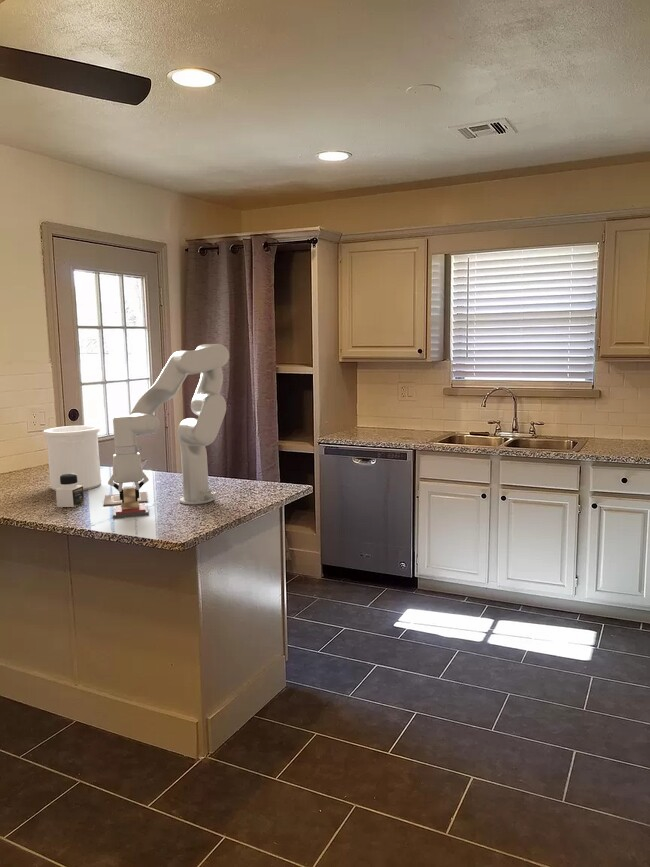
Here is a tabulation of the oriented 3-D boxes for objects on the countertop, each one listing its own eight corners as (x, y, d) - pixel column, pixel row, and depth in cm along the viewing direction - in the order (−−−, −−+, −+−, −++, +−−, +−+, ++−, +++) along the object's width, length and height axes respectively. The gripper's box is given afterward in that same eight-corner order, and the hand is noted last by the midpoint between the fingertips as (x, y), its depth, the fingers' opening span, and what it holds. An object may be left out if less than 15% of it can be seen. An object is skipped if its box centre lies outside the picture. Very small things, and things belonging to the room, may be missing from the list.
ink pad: (148, 508, 248) (147, 503, 248) (148, 515, 239) (148, 509, 239) (113, 511, 245) (113, 506, 245) (113, 518, 236) (112, 513, 235)
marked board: (146, 493, 273) (146, 491, 273) (147, 502, 258) (147, 500, 258) (105, 496, 269) (104, 495, 269) (103, 506, 254) (103, 504, 254)
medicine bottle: (74, 508, 253) (71, 476, 251) (56, 507, 254) (54, 476, 252) (84, 503, 260) (82, 472, 258) (67, 502, 261) (65, 472, 259)
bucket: (107, 489, 282) (103, 429, 279) (50, 496, 273) (44, 434, 269) (99, 478, 305) (95, 423, 302) (46, 484, 296) (41, 427, 292)
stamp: (139, 505, 245) (137, 485, 244) (139, 509, 240) (137, 488, 239) (121, 506, 244) (120, 486, 243) (121, 510, 238) (120, 490, 237)
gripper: (150, 447, 245) (153, 496, 247) (101, 450, 240) (105, 500, 243) (151, 450, 237) (154, 501, 240) (100, 453, 233) (104, 505, 236)
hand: (129, 500), depth 241 cm, fingers closed on stamp, 4 cm apart
